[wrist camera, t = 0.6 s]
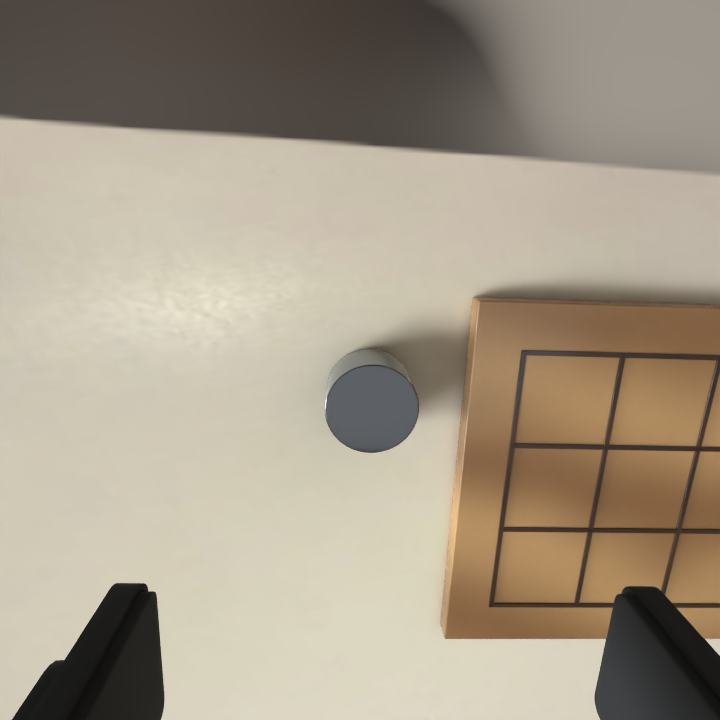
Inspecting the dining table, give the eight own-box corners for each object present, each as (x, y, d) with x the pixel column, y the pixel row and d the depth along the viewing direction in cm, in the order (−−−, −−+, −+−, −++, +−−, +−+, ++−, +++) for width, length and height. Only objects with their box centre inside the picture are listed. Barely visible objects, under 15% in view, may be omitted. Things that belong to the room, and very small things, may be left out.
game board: (472, 296, 24) (479, 300, 23) (852, 308, 25) (880, 313, 24) (440, 623, 30) (444, 641, 28) (755, 623, 31) (773, 641, 29)
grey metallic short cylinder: (327, 347, 25) (325, 363, 22) (413, 349, 25) (422, 365, 22) (325, 427, 26) (323, 452, 23) (407, 428, 26) (415, 454, 23)
